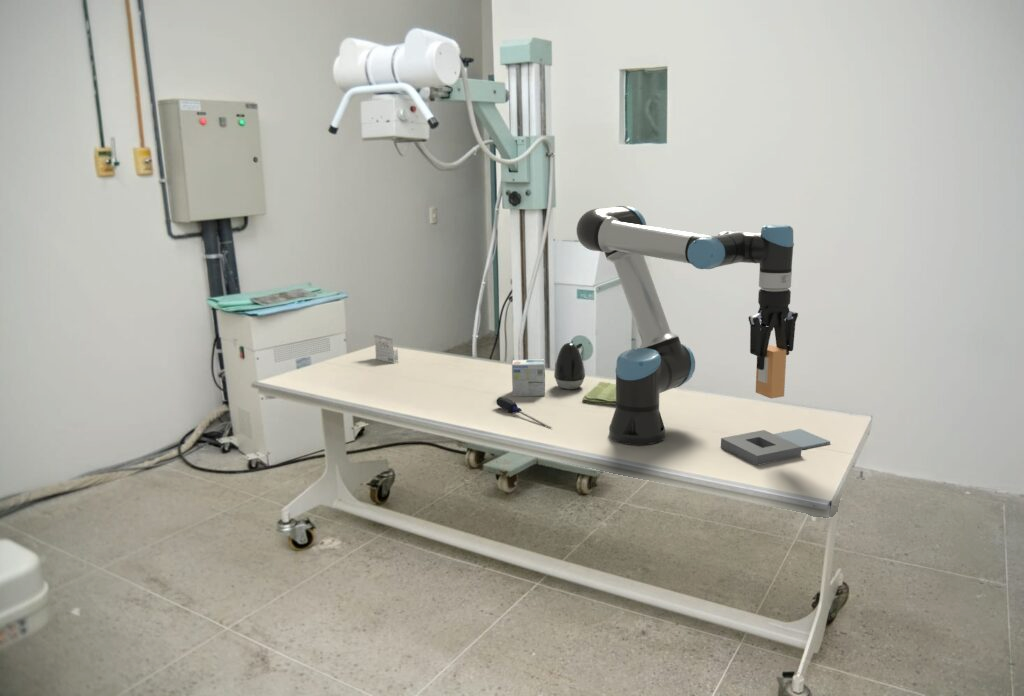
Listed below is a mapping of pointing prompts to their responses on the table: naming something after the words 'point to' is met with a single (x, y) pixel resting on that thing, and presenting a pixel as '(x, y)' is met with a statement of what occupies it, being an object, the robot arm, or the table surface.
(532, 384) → the light bulb box
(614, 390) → the washcloth
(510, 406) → the screwdriver
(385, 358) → the ink cartridge box
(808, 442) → the rubber mat
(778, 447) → the gray slotted square plate
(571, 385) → the pump dispenser
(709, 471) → the table surface
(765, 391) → the plug
